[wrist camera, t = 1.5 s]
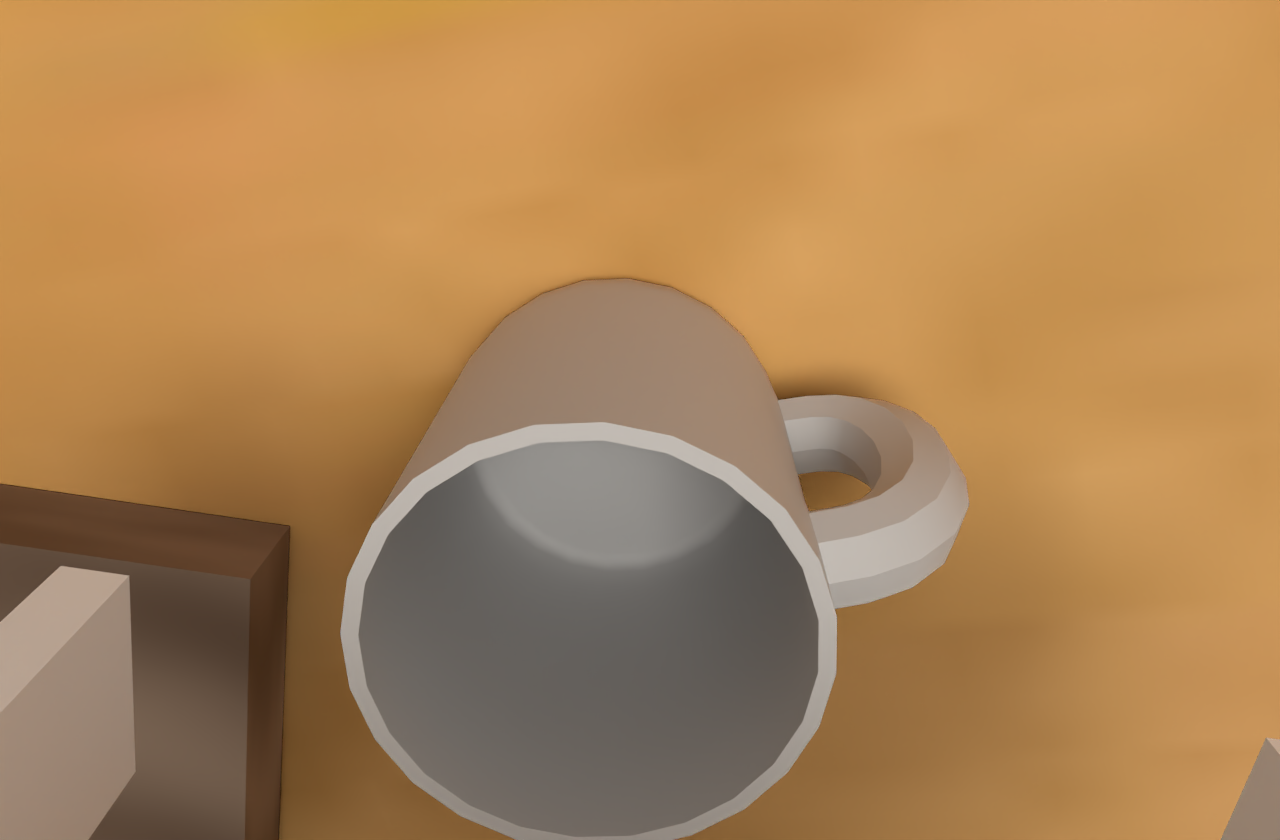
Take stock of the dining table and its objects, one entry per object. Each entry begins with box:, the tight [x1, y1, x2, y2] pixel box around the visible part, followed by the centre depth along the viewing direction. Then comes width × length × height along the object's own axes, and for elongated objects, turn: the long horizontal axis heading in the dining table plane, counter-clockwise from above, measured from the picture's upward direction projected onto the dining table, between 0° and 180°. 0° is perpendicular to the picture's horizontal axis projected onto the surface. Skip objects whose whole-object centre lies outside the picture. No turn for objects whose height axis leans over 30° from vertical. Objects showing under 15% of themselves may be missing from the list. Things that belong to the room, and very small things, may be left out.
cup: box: [340, 278, 969, 840], centre depth 20 cm, size 7×10×9 cm
